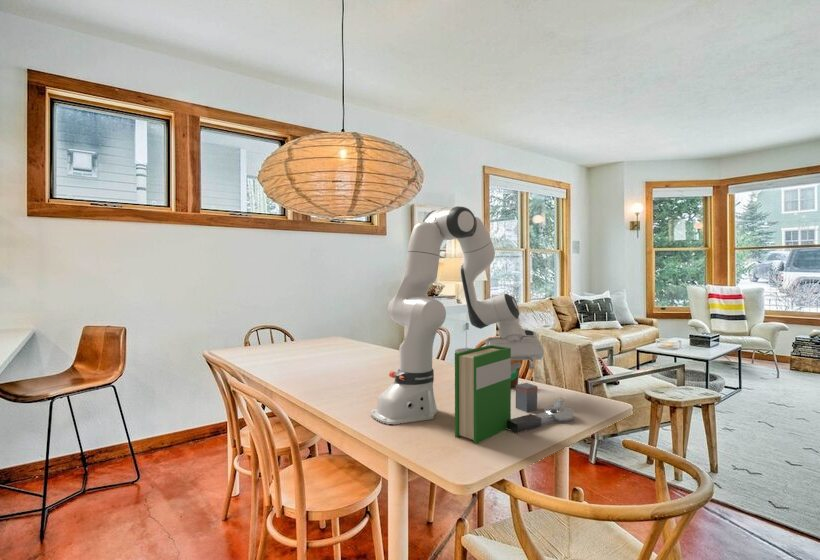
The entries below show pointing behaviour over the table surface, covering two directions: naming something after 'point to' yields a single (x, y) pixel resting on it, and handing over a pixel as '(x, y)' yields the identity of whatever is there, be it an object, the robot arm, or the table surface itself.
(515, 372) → the food container
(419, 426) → the table surface
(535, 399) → the dark grey block
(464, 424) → the hardback book
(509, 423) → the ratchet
